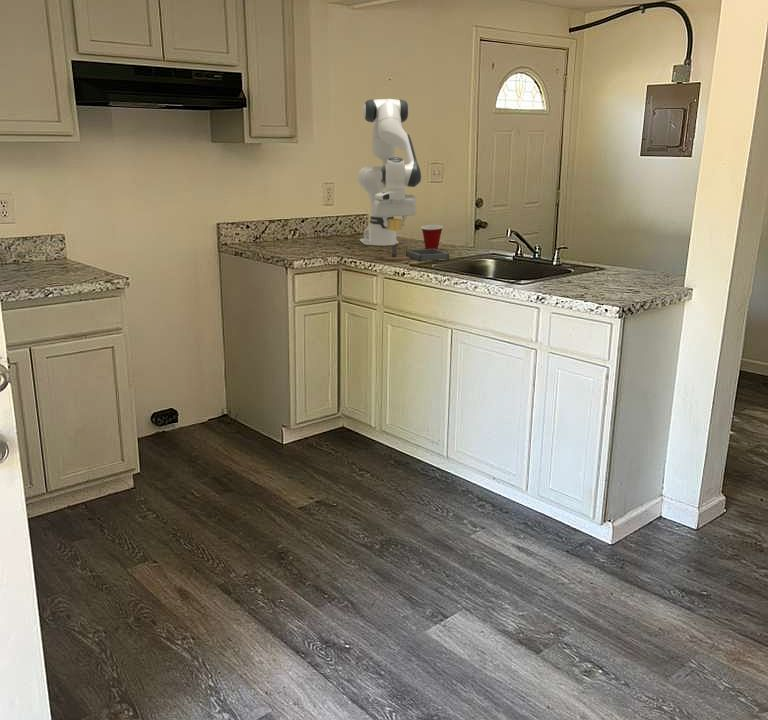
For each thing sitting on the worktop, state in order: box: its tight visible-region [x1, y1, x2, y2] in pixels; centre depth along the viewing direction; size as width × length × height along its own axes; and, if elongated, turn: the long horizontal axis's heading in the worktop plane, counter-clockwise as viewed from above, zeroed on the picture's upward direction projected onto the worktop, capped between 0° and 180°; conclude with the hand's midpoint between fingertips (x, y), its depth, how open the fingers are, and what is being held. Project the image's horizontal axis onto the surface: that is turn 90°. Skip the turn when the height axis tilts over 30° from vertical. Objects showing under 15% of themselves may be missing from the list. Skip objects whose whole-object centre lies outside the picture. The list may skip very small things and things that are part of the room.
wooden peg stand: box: [377, 244, 411, 262], centre depth 349 cm, size 11×11×6 cm
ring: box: [388, 218, 403, 232], centre depth 345 cm, size 6×6×4 cm
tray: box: [405, 248, 450, 262], centre depth 352 cm, size 15×15×3 cm
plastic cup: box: [420, 224, 444, 250], centre depth 371 cm, size 11×11×12 cm
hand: (394, 226), depth 345 cm, fingers closed on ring, 6 cm apart
